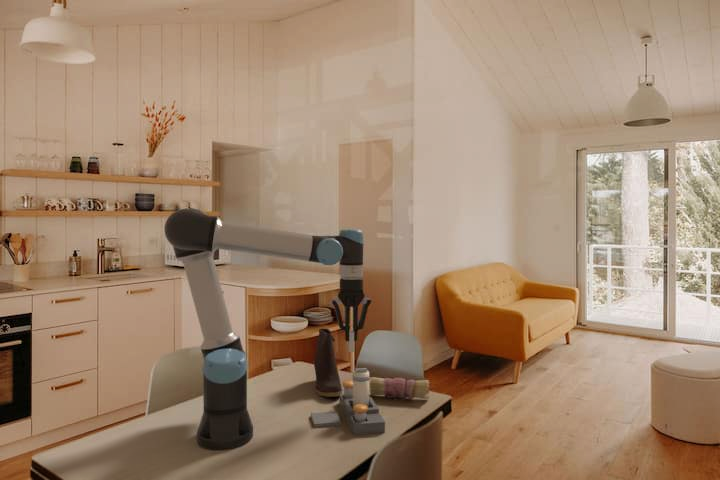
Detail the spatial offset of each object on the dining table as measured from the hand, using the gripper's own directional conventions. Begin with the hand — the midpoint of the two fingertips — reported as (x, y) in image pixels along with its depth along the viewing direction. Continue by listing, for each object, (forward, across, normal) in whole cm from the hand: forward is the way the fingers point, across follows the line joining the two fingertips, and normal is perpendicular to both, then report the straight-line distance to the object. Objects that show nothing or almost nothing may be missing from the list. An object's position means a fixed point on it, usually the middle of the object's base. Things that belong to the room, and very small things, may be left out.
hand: (351, 350), depth 160 cm
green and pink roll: (+19, +18, +6) cm, 27 cm away
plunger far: (+16, 0, +1) cm, 16 cm away
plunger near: (+17, 0, -16) cm, 23 cm away
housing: (+19, +2, -8) cm, 20 cm away
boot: (+19, -6, +18) cm, 27 cm away
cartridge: (+19, +2, -8) cm, 20 cm away
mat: (+19, -9, -9) cm, 22 cm away
